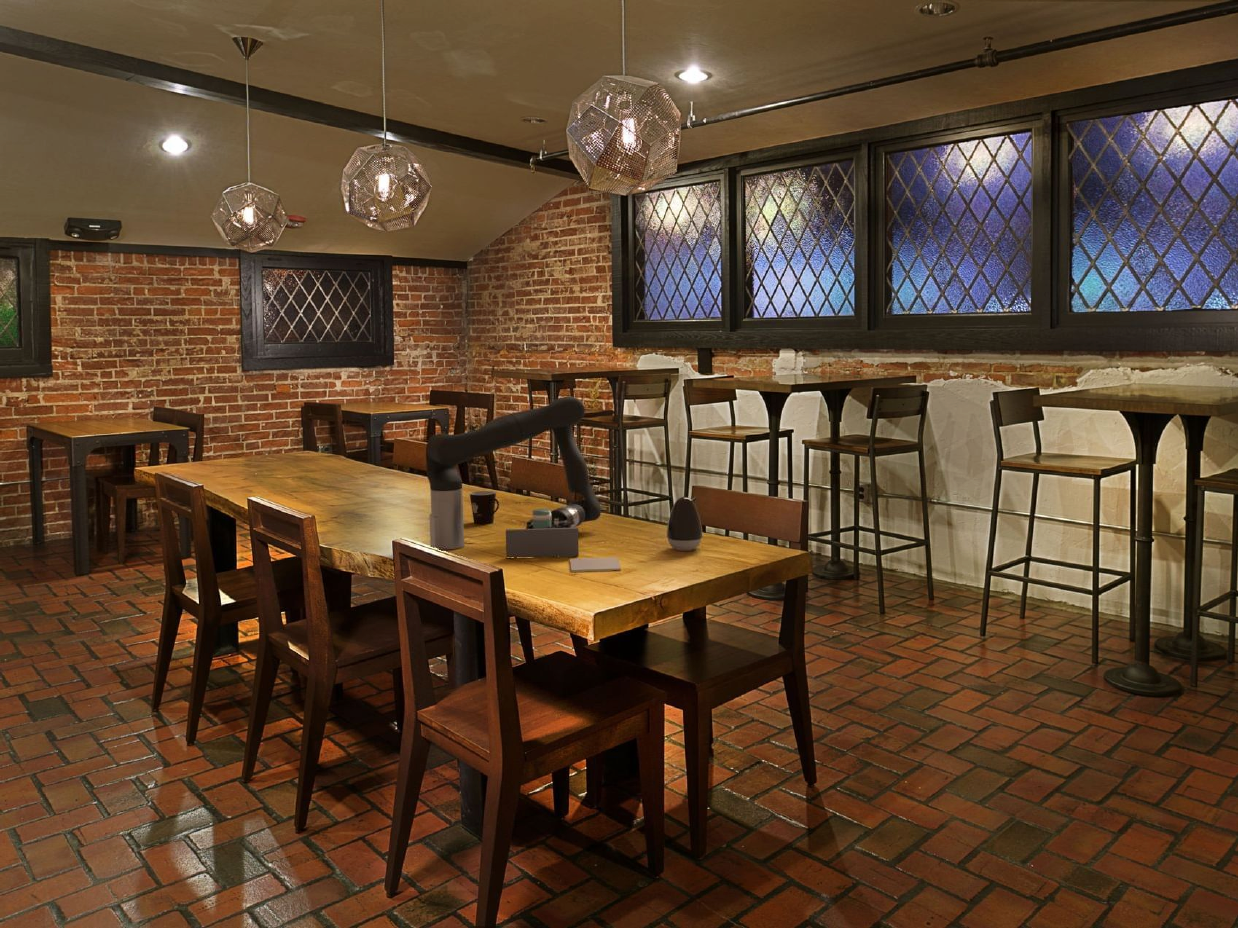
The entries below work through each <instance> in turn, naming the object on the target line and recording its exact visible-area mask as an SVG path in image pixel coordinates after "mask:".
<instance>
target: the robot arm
mask: <svg viewBox="0 0 1238 928" xmlns="http://www.w3.org/2000/svg"><path fill="white" fill-rule="evenodd" d="M585 410H586V408H585V404H584V403H583V401H582V400H580V398H579V397H578V398H577V397H575V396H571V395H569V396H568V395H567V396H563V397H561V398H557V399H554V400H553V401H551V402H550V403H549V404H548V405H545V406H542V407H539V408H538V407H537V408H532V409H531V408H530V409H525V410H520V411H517V412H513V413H512V412H511V413H509V414H505V415H502V416H499V417H495V418H494V419H492V420H490V421H488V422H487V423H485V424H484V425H482V426H480V427H479V428H478V429H474V430H472V431H468V432H463V433H459V434H450V433H449V434H447V433H436V434H434V435H432V436H431V437H430V438H429V439H428V441H427V443H426V446H425V461H426V463H425V465H426V476H427V480H428V482H429V487H430V492H429V493H430V509H431V510H430V514H429V531H430V532H429V536H430V539H429V540H430V547H432V546H433V547H436V548H439V549H438V550H454V549H460V548H463V547H465V531H464V530H465V528H464V526H465V525H464V500H463V497H464V496H463V479H462V478H461V476H460V475H459V473H458V471H457V470H458V469H457V465H460V464H462V463H464V462H466V461H469V460H471V459H474V458H475V457H477V456H480V455H482V454H487V453H489V452H493V451H497V450H501V449H504V448H508V447H512V446H514V445H517V444H520V443H522V442H525V441H527V440H528V441H529V440H530V439H532V438H533V439H534V437H537V436H539V435H541V434H543V433H546V432H548V431H551V430H552V432H553V435H554V438H555V441H556V443H557V447H558V450H559V453H560V456H561V461H562V463H563V468H564V473H565V478H566V483H567V488H568V491H569V493H572V494H580V495H581V496H582V497H583V498H584V499H579V500H574V501H571V502H569V503H568V504H567V505H565V506H560V507H557V508H556V509H553V510H551V517H552V519H551V526H550V527H548V528H578V527H579V526H580V525H581V524H583V523H587V522H592V521H597V520H598V519H599V518H600V517H601V514H602V508H601V507H602V506H601V504H600V502H599V500H598V498H597V496H596V494H595V491H594V489H593V487H592V485H591V481H590V476H589V470H588V466H587V462H586V461H585V458H584V456H583V454H582V452H581V450H580V449H579V446H578V445H577V441H576V440H575V436H574V431H573V426H575V425H577V424H578V423H580V422H581V421H582V419H583V418H584V416H585V412H586V411H585ZM525 529H533V518H531V519H530V520H528V521H526V528H525ZM433 547H432V548H433Z"/></svg>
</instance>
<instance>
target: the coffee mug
mask: <svg viewBox="0 0 1238 928" xmlns="http://www.w3.org/2000/svg"><path fill="white" fill-rule="evenodd" d="M496 493H497V492H496V491H493V490H476V491H471V492H469V498H470V506H471V512H472V519H473V524H474V525H480V526H481V525H484V526H485V525H490V524H491V525H492V524H494V520H495V513H497V511H498V510H499V507H500V503H499V500H498V499H497V497H496V496H497V494H496ZM495 506H496V507H495Z"/></svg>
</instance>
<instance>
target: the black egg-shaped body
mask: <svg viewBox="0 0 1238 928" xmlns="http://www.w3.org/2000/svg"><path fill="white" fill-rule="evenodd" d="M697 500H698V499H697V498H696V496H695V497H692V498H689V497H688V496H681V497H679V498H678V499H676V501H675V502H674V504H673V506H672V508H671V510H670V515H669V517H668V522H667V526H666V527H667V529H666V538H667V539H668V543H669V545H670V546H671V547H672V548H673V549H674V550H676V551H679V552H689V551H693V550H695V549H697V548H698V547H699V546H700V544H701V541H702V538H703V528H702V523H701V517H700V514H699V511H698V509H697V506H696V504H695V503H696V501H697Z"/></svg>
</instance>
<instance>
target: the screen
mask: <svg viewBox="0 0 1238 928" xmlns="http://www.w3.org/2000/svg"><path fill="white" fill-rule="evenodd" d="M505 547H506V548H505V551H506V552H505V555H506V556H505V557H510V558H511V557H514V558H517V557H554V558H568V557H567V556H579V555H580V554H579V549H580V548H579V527H574V528H542V529H526V528H516V529H515V528H514V529H511V528H510V529H507V528H506V529H505ZM558 556H559V557H558Z"/></svg>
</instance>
